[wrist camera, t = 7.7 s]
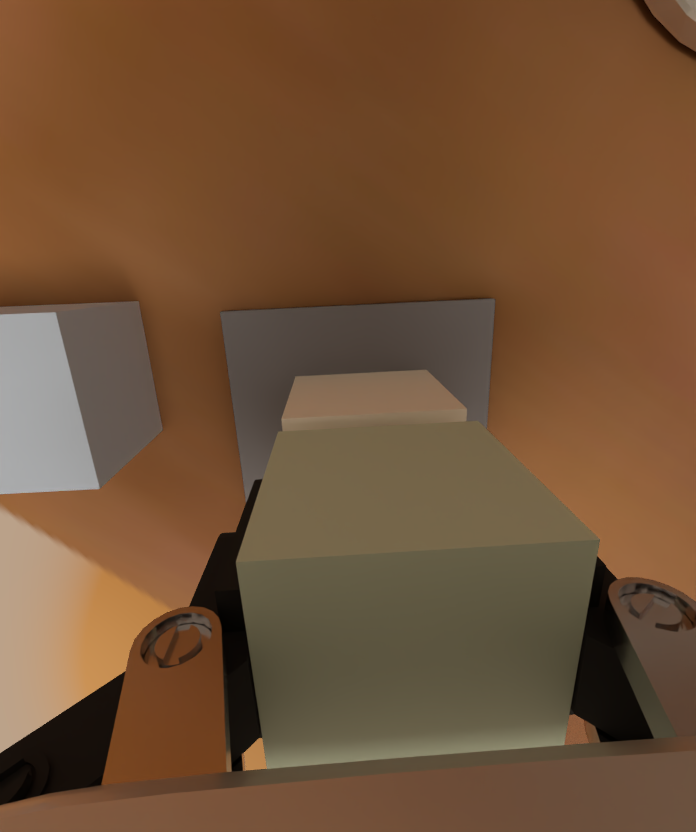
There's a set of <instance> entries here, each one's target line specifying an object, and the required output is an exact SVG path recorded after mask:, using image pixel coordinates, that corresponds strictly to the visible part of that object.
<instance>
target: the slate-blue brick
mask: <svg viewBox="0 0 696 832" xmlns="http://www.w3.org/2000/svg"><path fill="white" fill-rule="evenodd" d="M162 430H163V428H162V422H161V417H160V412H159V407H158V401H157V396H156V391H155V385H154V380H153V375H152V369H151V364H150V359H149V354H148V348H147V343H146V338H145V332H144V327H143V322H142V316H141V311H140V306H139V301H131V302H106V303H81V304H56V305H31V306H6V307H0V494H12V493H31V492H50V491H69V490H87V489H100V488H101V487H102V486H103V485H104V484H106V483H107V482H108V481H109V480H110V479H111V478H112V477H113V476H114V475H115V474H116V473H117V472H118V471H119V470H121V469H122V468H123V467H124V466H125V465H126V464H127V463H128V462H129V461H130V460H131V459H132V458H133V457H135V456H136V455H137V454H138V453H139V452H140V451H141V450H142V449H143V448H144V447H145V446H146V445H147V444H148V443H150V442H151V441H152V440H153V439H154V438H155V437H156V436H157V435H158V434H159V433H160V432H161V431H162Z"/></svg>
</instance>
